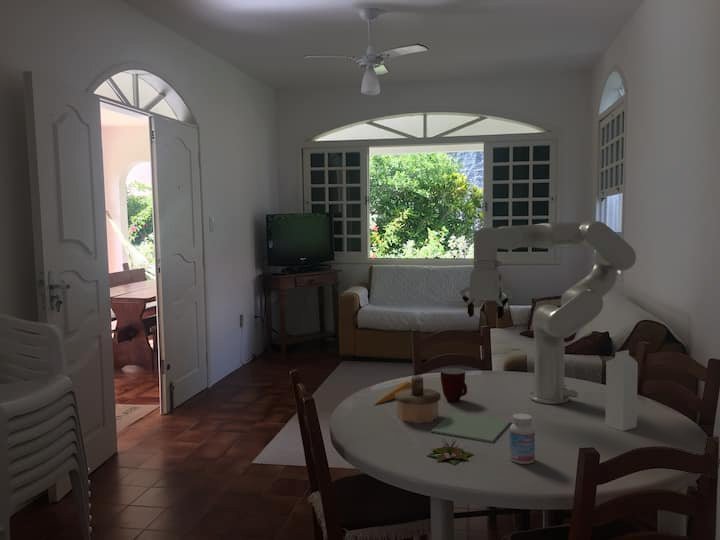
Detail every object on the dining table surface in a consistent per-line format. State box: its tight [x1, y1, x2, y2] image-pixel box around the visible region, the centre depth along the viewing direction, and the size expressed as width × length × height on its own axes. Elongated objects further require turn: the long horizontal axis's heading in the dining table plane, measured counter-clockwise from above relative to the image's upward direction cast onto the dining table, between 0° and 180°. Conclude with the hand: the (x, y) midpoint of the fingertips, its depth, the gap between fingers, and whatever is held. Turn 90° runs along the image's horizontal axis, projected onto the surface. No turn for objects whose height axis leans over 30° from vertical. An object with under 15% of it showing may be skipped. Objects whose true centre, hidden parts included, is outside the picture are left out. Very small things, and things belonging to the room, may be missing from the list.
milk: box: [605, 349, 639, 432], centre depth 172 cm, size 6×6×22 cm
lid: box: [394, 376, 441, 405], centre depth 184 cm, size 14×14×6 cm
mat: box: [430, 411, 512, 443], centre depth 174 cm, size 18×18×1 cm
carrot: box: [373, 381, 412, 406], centre depth 203 cm, size 20×4×4 cm, turn 138°
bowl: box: [396, 400, 439, 424], centre depth 184 cm, size 12×12×6 cm
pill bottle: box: [509, 413, 536, 465], centre depth 149 cm, size 6×6×11 cm
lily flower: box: [426, 438, 473, 466], centre depth 153 cm, size 12×12×5 cm
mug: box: [440, 367, 468, 403], centre depth 199 cm, size 10×8×10 cm
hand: (485, 317), depth 196 cm, fingers open, 9 cm apart
